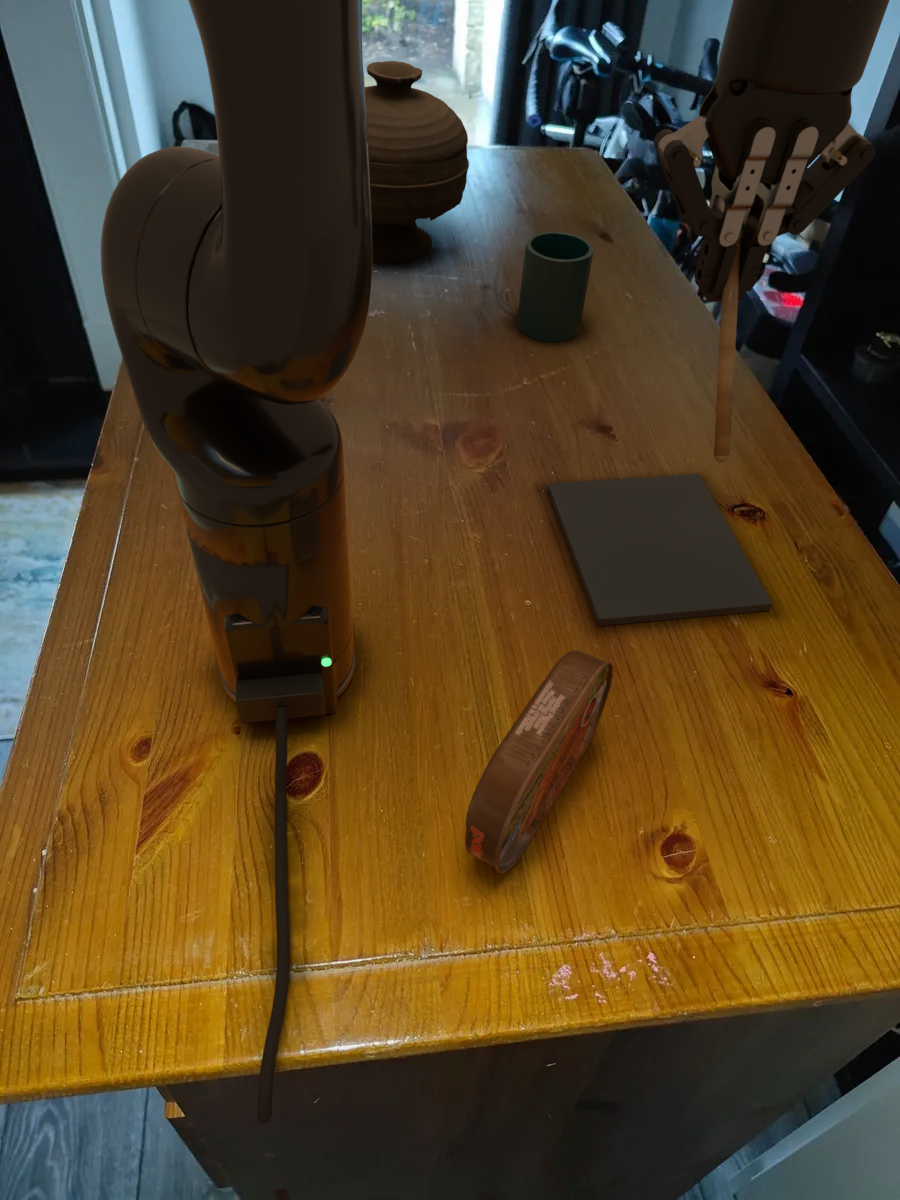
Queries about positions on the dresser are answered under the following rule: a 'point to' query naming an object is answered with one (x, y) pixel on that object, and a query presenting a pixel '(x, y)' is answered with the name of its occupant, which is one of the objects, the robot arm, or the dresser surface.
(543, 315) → the cup
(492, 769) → the tin
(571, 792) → the dresser surface
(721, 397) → the stirring stick
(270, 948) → the dresser surface
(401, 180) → the pot
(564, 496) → the mat
